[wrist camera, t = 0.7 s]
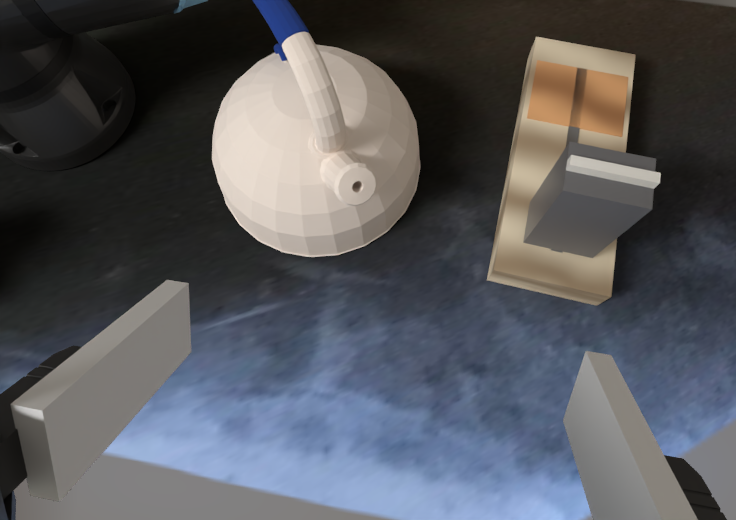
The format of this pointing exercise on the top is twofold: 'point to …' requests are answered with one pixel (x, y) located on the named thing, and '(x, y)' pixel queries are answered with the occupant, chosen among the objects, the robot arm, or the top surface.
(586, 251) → the fader knob
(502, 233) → the fader console
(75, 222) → the top surface
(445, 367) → the top surface
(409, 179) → the kettle
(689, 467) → the robot arm
